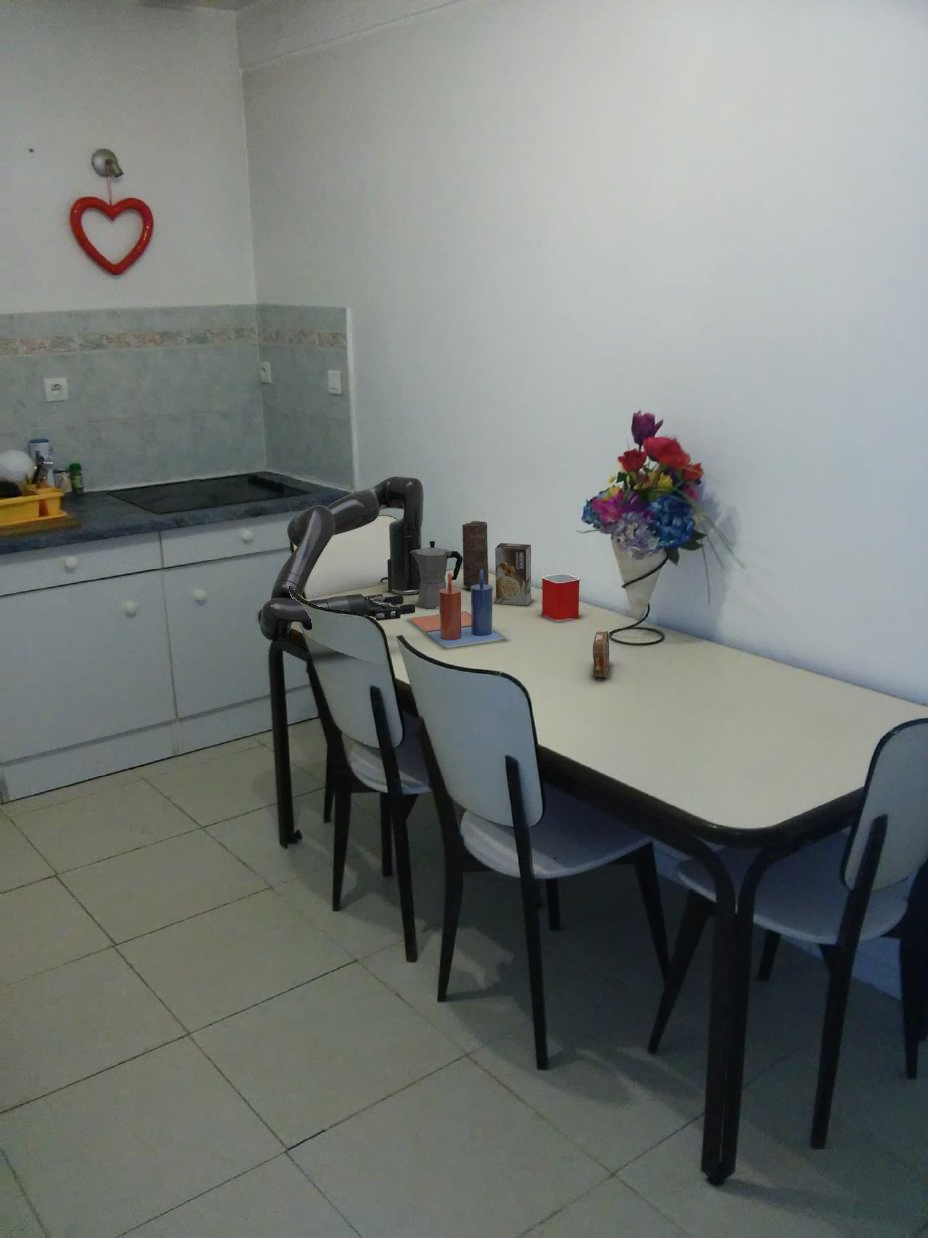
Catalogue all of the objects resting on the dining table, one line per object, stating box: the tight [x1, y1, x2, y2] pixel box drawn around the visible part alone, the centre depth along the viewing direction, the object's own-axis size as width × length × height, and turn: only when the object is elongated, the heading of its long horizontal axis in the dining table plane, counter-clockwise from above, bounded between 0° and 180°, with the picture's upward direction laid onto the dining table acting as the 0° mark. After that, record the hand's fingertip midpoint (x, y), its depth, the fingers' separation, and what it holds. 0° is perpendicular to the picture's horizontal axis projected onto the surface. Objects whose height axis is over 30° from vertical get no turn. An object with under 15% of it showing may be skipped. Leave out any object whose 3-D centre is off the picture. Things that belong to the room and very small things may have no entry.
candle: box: [461, 520, 490, 590], centre depth 309 cm, size 8×7×20 cm
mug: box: [541, 572, 581, 621], centre depth 284 cm, size 12×8×11 cm
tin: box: [592, 630, 610, 679], centre depth 242 cm, size 15×3×8 cm, turn 168°
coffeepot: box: [410, 540, 463, 610], centre depth 294 cm, size 15×9×18 cm, turn 70°
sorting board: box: [408, 611, 506, 648], centre depth 273 cm, size 16×26×1 cm, turn 23°
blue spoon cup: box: [470, 570, 494, 636], centre depth 267 cm, size 5×5×16 cm
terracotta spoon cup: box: [438, 572, 462, 640], centre depth 264 cm, size 5×5×16 cm
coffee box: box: [494, 542, 532, 606], centre depth 296 cm, size 9×6×16 cm
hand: (408, 603), depth 259 cm, fingers open, 8 cm apart
